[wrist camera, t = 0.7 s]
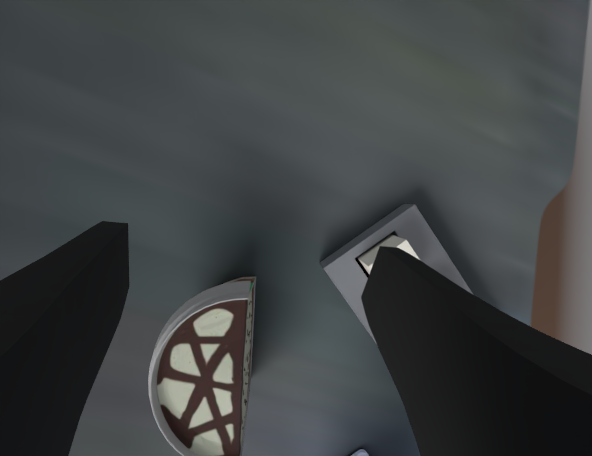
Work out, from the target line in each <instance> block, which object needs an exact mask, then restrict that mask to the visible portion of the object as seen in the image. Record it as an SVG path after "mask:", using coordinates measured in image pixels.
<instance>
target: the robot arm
mask: <svg viewBox="0 0 592 456" xmlns="http://www.w3.org/2000/svg"><path fill="white" fill-rule="evenodd" d="M128 289H129V251H128V223H116V222H105V221H102V222H100V223H98V224H96V225H95V226H93V227H91V228H90V229H88V230H87V231H85V232H83V233H82V234H80V235H79V236H77V237H75V238H74V239H72V240H71V241H69V242H67V243H66V244H64V245H62V246H61V247H59V248H58V249H56V250H54V251H53V252H51V253H49V254H48V255H46V256H44V257H43V258H41V259H39V260H37V261H35V262H34V263H32V264H30V265H28V266H26V267H24V268H23V269H21V270H19V271H17V272H15V273H13V274H12V275H10V276H8V277H6V278H4V279H2V280H1V281H0V456H68V454H69V451H70V448H71V445H72V442H73V438H74V435H75V432H76V429H77V425H78V422H79V419H80V416H81V413H82V411H83V408H84V405H85V403H86V400H87V397H88V395H89V393H90V390H91V388H92V386H93V383H94V381H95V379H96V376H97V374H98V371H99V369H100V367H101V364H102V362H103V360H104V357H105V355H106V353H107V350H108V348H109V345H110V343H111V341H112V338H113V336H114V333H115V331H116V329H117V326H118V324H119V321H120V319H121V315H122V311H123V308H124V304H125V301H126V297H127V293H128ZM361 300H362V304H363V307H364V311H365V315H366V318H367V321H368V324H369V327H370V330H371V332H372V334H373V336H374V339H375V341H376V343H377V345H378V348H379V350H380V352H381V354H382V357H383V359H384V361H385V363H386V365H387V367H388V370H389V372H390V374H391V376H392V378H393V381H394V383H395V385H396V387H397V389H398V392H399V394H400V396H401V399H402V401H403V404H404V406H405V409H406V412H407V415H408V418H409V421H410V424H411V427H412V430H413V433H414V436H415V439H416V442H417V445H418V448H419V451H420V455H421V456H592V355H591V354H589V353H586V352H584V351H581V350H579V349H577V348H575V347H572V346H570V345H568V344H565V343H564V342H561V341H559V340H556V339H555V338H552V337H550V336H548V335H546V334H544V333H542V332H540V331H538V330H536V329H534V328H532V327H530V326H528V325H526V324H524V323H522V322H520V321H518V320H516V319H515V318H513V317H511V316H509V315H507V314H505V313H503V312H502V311H500V310H498V309H496V308H495V307H493V306H491V305H490V304H488V303H486V302H485V301H483V300H481V299H480V298H478V297H476V296H474V295H473V294H471V293H470V292H468V291H467V290H465V289H463V288H462V287H460V286H459V285H457V284H456V283H454V282H452V281H451V280H449V279H448V278H446V277H445V276H443V275H442V274H440V273H439V272H437V271H436V270H434V269H433V268H431V267H430V266H428V265H427V264H425V263H424V262H422V261H420V260H419V259H417V258H416V257H414V256H412V255H411V254H409V253H407V252H405V251H404V250H402V249H400V248H397V247H386V246H380V247H379V250H378V252H377V255H376V258H375V261H374V263H373V266H372V269H371V271H370V274H369V277H368V280H367V282H366V285H365V288H364V290H363V293H362V296H361ZM351 456H369V455H368V453H367V452H366V451H365V450H363V449H360V450H358V451H357V452H355V453H354V454H352V455H351Z"/></svg>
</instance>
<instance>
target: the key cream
mask: <svg viewBox="0 0 592 456" xmlns="http://www.w3.org/2000/svg"><path fill="white" fill-rule="evenodd" d="M380 246H386V247H397V248H400V249H402V250H404V251H405V252H407V253H409V254H411V255H412V256H414V257H416V258H417V259H419V258H418V256H417V255H416V253H415V252H414V250H413V249H412V247H411V246H410V244H409V243H408V241H407V240H406V239H403V238H400V237H397V236H394V235H390V236H388V237H387V238H385V239H384V240H382V241H381V242H380V243H378V244H377V245H375V246H374V247H372V248H371V249H370V250H368V251H367V252H365V253H364V254H362V255H361V256H360V257H358V260H359V261H360V262H361V264H362V265H363V267H364V268H365V270H366V271H367V273H368V274H370V271H371V269H372V266H373V263H374V261H375V258H376V255H377V252H378V250H379V247H380ZM419 260H420V259H419Z"/></svg>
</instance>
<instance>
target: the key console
mask: <svg viewBox="0 0 592 456" xmlns="http://www.w3.org/2000/svg"><path fill="white" fill-rule="evenodd" d="M389 234H390V235H394V236H397V237H400V238H403V239H406V240H407V241H408V243H409V244H410V246H411V247H412V249H413V250H414V252H415V253H416V255H417V256H418V258H419V259H420V261H422V262H424V263H425V264H427V265H428V266H430V267H431V268H433V269H434V270H436V271H437V272H439V273H440V274H442V275H443V276H445V277H446V278H448V279H449V280H451V281H452V282H454V283H456V284H457V285H459V286H460V287H462V288H463V289H465V290H467V291H468V292H470V293H471V294H473V293H472V291H471V290H470V288H469V287H468V285H467V284H466V282H465V281H464V279H463V278H462V276H461V275H460V273H459V271H458V270H457V268H456V267H455V265H454V264H453V262H452V261H451V259H450V258H449V256H448V255H447V253H446V251H445V250H444V248H443V247H442V245H441V244H440V242H439V241H438V239H437V238H436V236H435V235H434V233H433V231H432V230H431V228H430V227H429V225H428V224H427V222H426V221H425V219H424V218H423V216H422V215H421V213H420V212H419V210H418V208H417V207H416V205H415V204H403V205H401V206H400V207H398V208H397V209H395V210H394V211H393V212H391V213H390V214H388V215H387V216H385V217H384V218H383V219H381V220H380V221H378V222H377V223H375V224H374V225H373V226H371V227H370V228H368V229H367V230H365V231H364V232H363V233H361V234H360V235H358V236H357V237H355V238H354V239H353V240H351V241H350V242H348V243H347V244H345V245H344V246H343V247H341V248H340V249H338V250H337V251H335V252H334V253H333V254H331V255H330V256H328V257H327V258H325V259H324V260H323V261H321V262H320V264H321V265H322V267H323V268H324V270H325V271H326V273H327V274H328V276H329V277H330V278H331V280H332V281H333V283H334V284H335V286H336V287H337V288H338V290H339V291H340V293H341V294H342V296H343V297H344V298H345V300H346V301H347V303H348V304H349V306H350V307H351V308H352V310H353V311H354V313H355V314H356V315H357V317H358V318H359V320H360V321H361V323H362V324H363V325H364V327H365V328H366V330H367V331H368V333H369V334H370V335H371V337H372V338H373V340H374V341H375V339H374V336H373V334H372V332H371V330H370V327H369V324H368V321H367V318H366V315H365V311H364V307H363V304H362V300H361V296H362V293H363V290H364V288H365V285H366V282H367V280H368V278H367V276H366V275H365V273H364V272H363V271H362V269H361V268H360V266H359V265H358V263H357V262H356V260H355V258H356V257H357V256H359V255H360V254H362V253H363V252H365V251H366V250H367V249H369V248H370V247H372V246H373V245H375V244H376V243H377V242H379V241H380V240H382V239H383V238H385V237H386V236H387V235H389ZM375 343H376V341H375ZM376 344H377V343H376Z"/></svg>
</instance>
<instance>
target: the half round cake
mask: <svg viewBox="0 0 592 456" xmlns="http://www.w3.org/2000/svg"><path fill="white" fill-rule="evenodd" d="M255 288H256V276H242V277H239V278H236V279H233V280H230V281H227V282H225V283H224V284H221V285H218V286H215V287H212V288H210V289H207V290H205V291H203V292H201V293H199V294H197V295H196V296H194V297H192V298H191V299H190V300H188V301H187V302H186V303H184V304H183V305H182V306H181V307H180V308H179V309H178V310H177V311H176V312H175V313H174V314H173V315H172V316H171V318H170V319H169V320H168V322H167V323H166V325H165V326H164V328H163V329H162V331H161V334H160V336H159V338H158V340H157V342H156V346H155V349H154V353H153V356H152V360H151V364H150V369H149V378H148V385H149V397H150V402H151V407H152V411H153V415H154V417H155V420H156V422H157V425H158V427H159V429H160V430H161V432H162V434H163V435H164V437H165V438H166V440H167V441H168V442H169V443H170V444H171V446H172V447H173V448H174V449H175V450H176V451H177V452H178V453H180V454H181V455H182V456H242V451H243V442H244V433H245V425H246V416H247V408H248V399H249V391H250V382H251V368H252V348H253V328H254V308H255Z"/></svg>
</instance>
